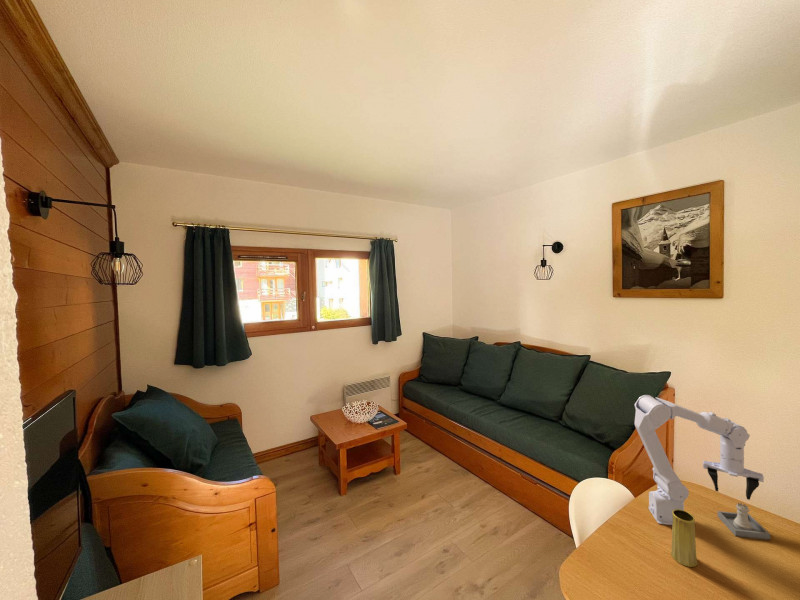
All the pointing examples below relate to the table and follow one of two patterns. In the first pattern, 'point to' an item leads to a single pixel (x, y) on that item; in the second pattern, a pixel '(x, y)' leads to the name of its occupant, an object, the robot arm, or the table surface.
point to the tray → (756, 531)
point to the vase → (683, 538)
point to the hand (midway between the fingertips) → (731, 493)
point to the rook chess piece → (742, 518)
